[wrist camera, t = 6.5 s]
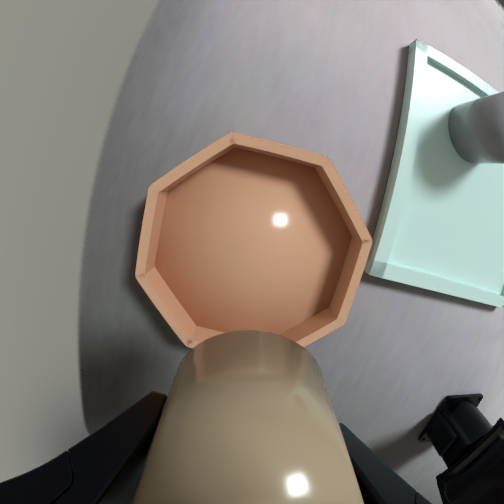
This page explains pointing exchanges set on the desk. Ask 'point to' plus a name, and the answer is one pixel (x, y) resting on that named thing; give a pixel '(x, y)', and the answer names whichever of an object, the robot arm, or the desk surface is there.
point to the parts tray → (440, 192)
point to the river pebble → (248, 429)
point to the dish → (252, 243)
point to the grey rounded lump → (479, 129)
